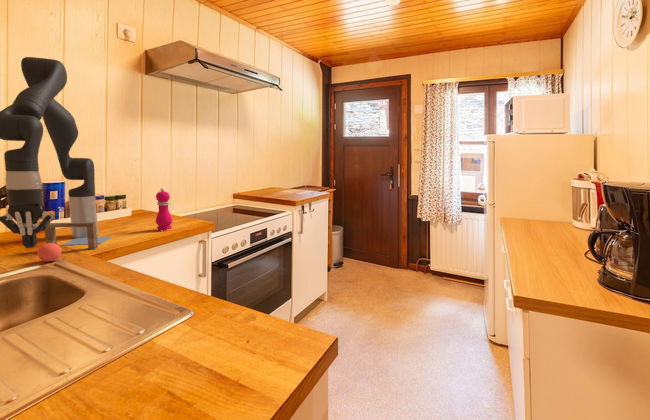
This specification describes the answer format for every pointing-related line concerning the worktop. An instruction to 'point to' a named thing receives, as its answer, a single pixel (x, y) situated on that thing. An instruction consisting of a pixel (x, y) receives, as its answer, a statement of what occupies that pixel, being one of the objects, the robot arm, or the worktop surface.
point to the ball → (49, 252)
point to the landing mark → (85, 241)
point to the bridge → (91, 226)
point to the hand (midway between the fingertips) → (30, 247)
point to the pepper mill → (163, 211)
